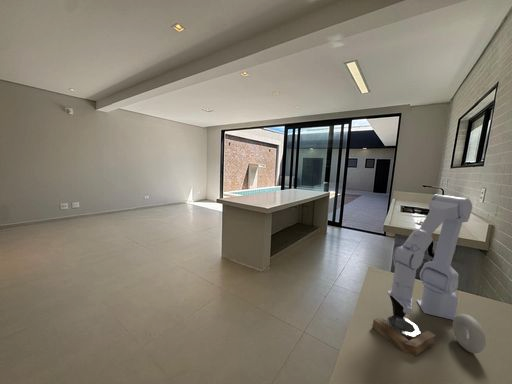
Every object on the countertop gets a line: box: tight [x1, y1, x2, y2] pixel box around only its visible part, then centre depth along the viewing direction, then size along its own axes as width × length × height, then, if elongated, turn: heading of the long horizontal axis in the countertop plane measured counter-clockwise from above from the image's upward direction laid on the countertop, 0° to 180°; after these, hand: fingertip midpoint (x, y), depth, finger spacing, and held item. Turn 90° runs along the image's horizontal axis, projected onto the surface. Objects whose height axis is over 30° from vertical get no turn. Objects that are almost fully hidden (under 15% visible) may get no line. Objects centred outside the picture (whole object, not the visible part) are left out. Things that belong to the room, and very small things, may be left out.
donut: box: [452, 313, 487, 354], centre depth 64 cm, size 10×4×10 cm, turn 168°
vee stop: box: [372, 317, 436, 357], centre depth 65 cm, size 17×9×3 cm, turn 70°
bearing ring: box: [386, 315, 422, 340], centre depth 68 cm, size 8×8×4 cm
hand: (397, 318), depth 73 cm, fingers closed
